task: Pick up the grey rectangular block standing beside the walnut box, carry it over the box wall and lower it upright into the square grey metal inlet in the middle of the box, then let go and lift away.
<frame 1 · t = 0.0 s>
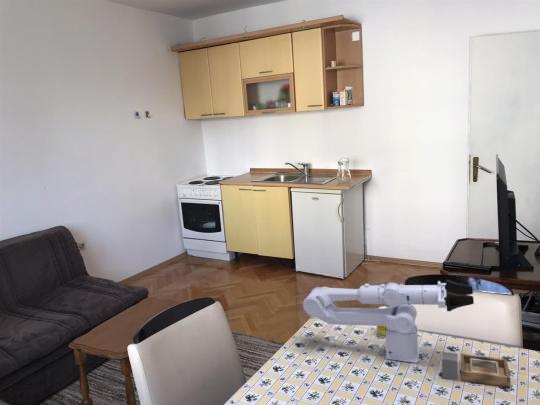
hand: (473, 294, 129), 22 cm above the table, tool horizontal, fingers open, 7 cm apart
supplement bottle: (384, 335, 154), on the table
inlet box: (484, 374, 127), on the table
grey rectangular block: (449, 375, 127), on the table
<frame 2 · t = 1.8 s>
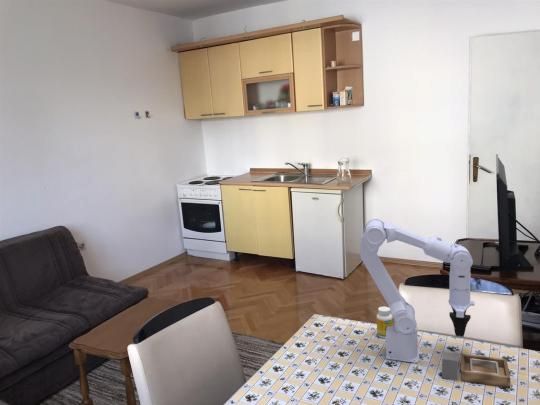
hand: (459, 330, 134), 9 cm above the table, tool pointing down, fingers open, 7 cm apart
nothing on the table moved.
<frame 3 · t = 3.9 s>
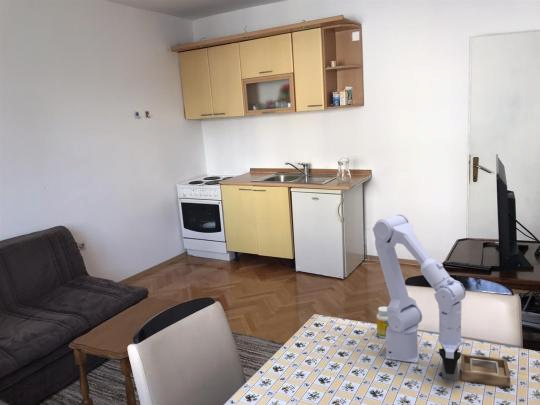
hand: (449, 369, 127), 2 cm above the table, tool pointing down, fingers closed on grey rectangular block, 4 cm apart
grey rectangular block: (449, 375, 127), on the table, touching gripper
everything else where it was.
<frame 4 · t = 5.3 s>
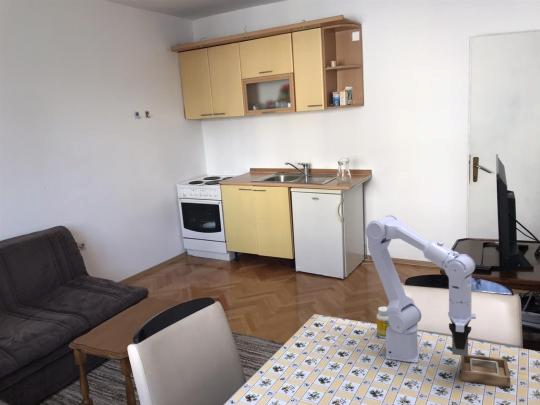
hand: (460, 344, 126), 9 cm above the table, tool pointing down, fingers closed on grey rectangular block, 4 cm apart
grey rectangular block: (460, 351, 126), point 7 cm above the table, touching gripper
everything else where it was.
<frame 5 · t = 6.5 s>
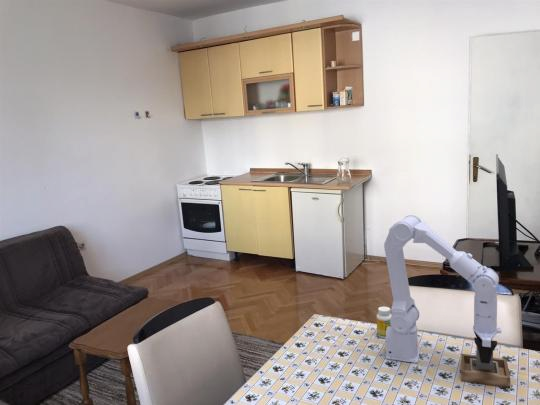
hand: (484, 358, 126), 5 cm above the table, tool pointing down, fingers closed on grey rectangular block, 4 cm apart
grey rectangular block: (484, 365, 126), point 3 cm above the table, touching gripper
everything else where it was.
when the fingers open (4 cm above the table, at t = 7.2 s): grey rectangular block stays where it is, resting on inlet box.
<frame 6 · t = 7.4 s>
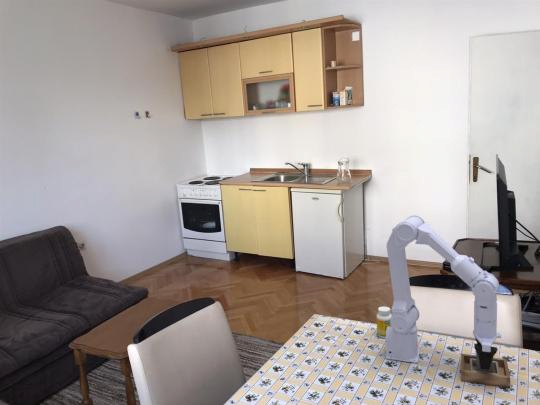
hand: (484, 363, 126), 4 cm above the table, tool pointing down, fingers open, 5 cm apart
grey rectangular block: (484, 372, 127), point 1 cm above the table, touching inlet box
everything else where it was.
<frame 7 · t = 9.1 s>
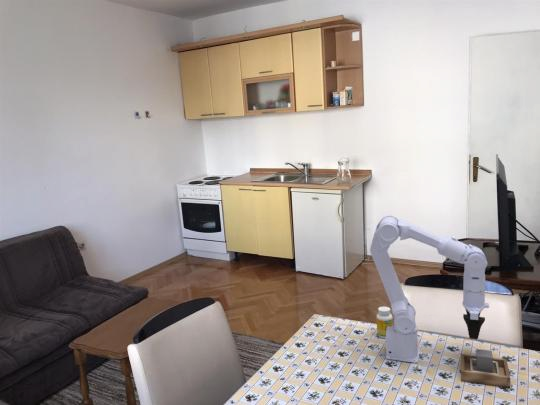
hand: (473, 332, 132), 9 cm above the table, tool pointing down, fingers open, 7 cm apart
nothing on the table moved.
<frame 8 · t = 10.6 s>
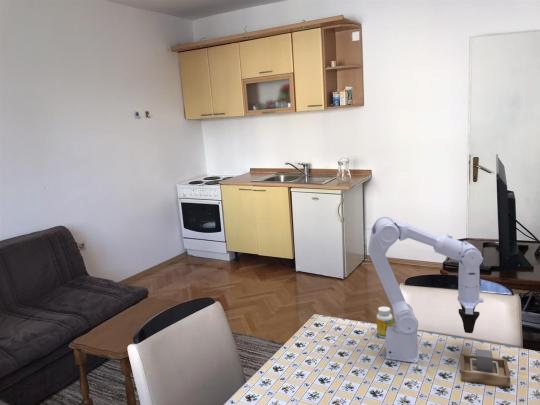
hand: (468, 326, 136), 9 cm above the table, tool pointing down, fingers open, 7 cm apart
nothing on the table moved.
at the end: grey rectangular block 0.1 cm off-centre on the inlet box, point 0.6 cm above the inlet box's base; grey rectangular block tilted 0°; the gripper is holding nothing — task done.
